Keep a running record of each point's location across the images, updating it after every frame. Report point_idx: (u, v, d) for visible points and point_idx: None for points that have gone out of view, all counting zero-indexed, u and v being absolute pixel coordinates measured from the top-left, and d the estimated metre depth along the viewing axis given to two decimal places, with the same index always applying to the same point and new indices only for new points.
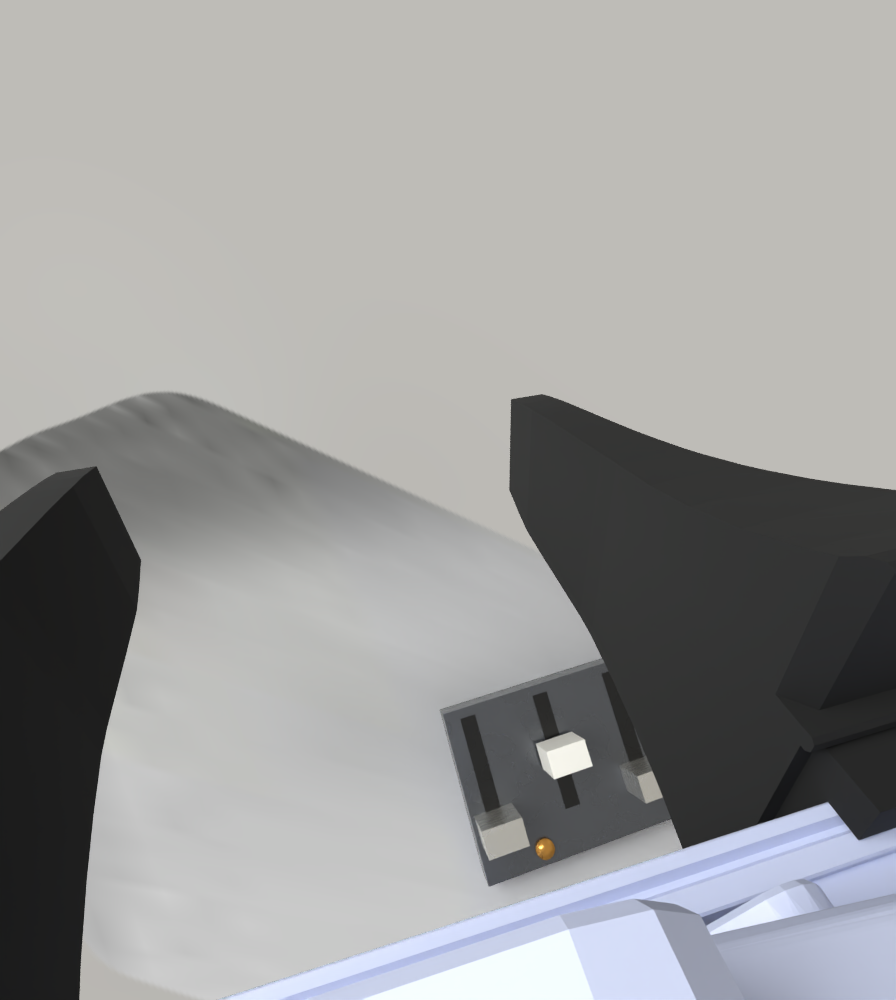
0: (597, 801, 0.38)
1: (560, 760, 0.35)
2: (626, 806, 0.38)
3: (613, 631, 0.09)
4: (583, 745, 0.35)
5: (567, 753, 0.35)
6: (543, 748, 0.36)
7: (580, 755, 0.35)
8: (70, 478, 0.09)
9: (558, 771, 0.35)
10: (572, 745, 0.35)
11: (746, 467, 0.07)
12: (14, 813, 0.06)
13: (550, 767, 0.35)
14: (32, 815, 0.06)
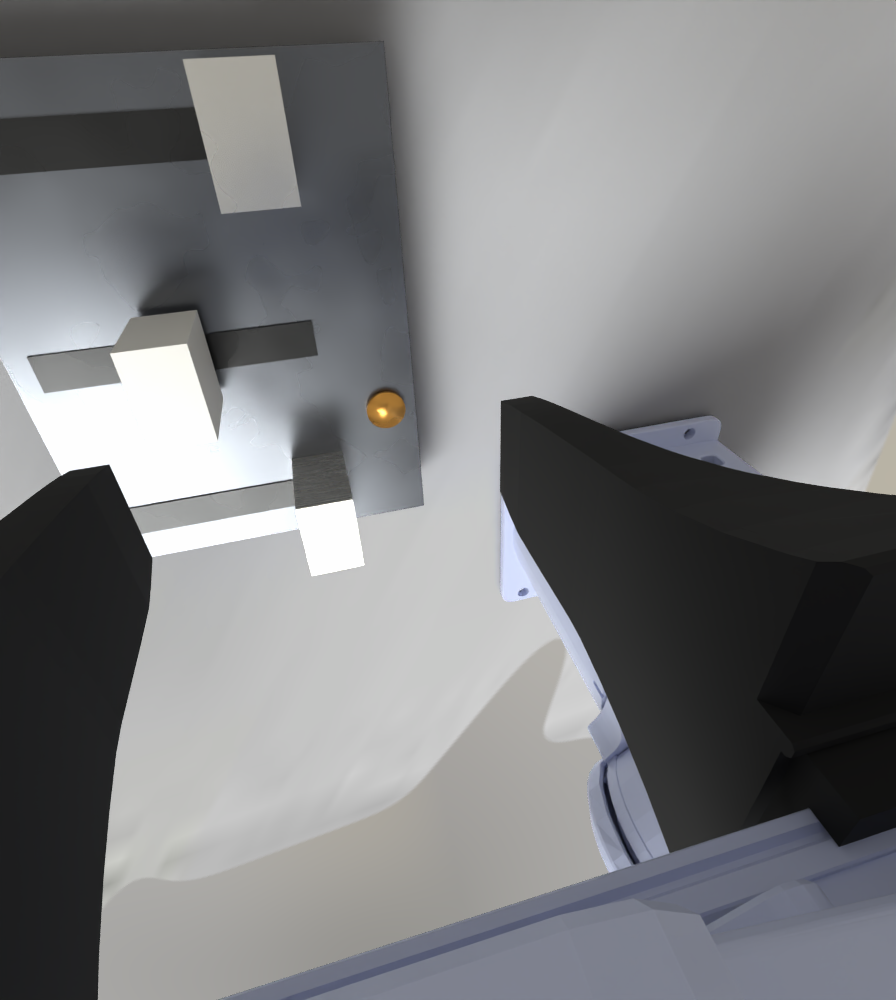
0: (312, 275, 0.15)
1: (171, 422, 0.14)
2: (334, 200, 0.15)
3: (601, 634, 0.09)
4: (128, 358, 0.13)
5: (152, 403, 0.13)
6: None
7: (156, 370, 0.13)
8: (84, 476, 0.09)
9: (198, 430, 0.14)
10: (128, 386, 0.13)
11: (732, 470, 0.07)
12: (34, 808, 0.06)
13: None
14: (51, 810, 0.06)
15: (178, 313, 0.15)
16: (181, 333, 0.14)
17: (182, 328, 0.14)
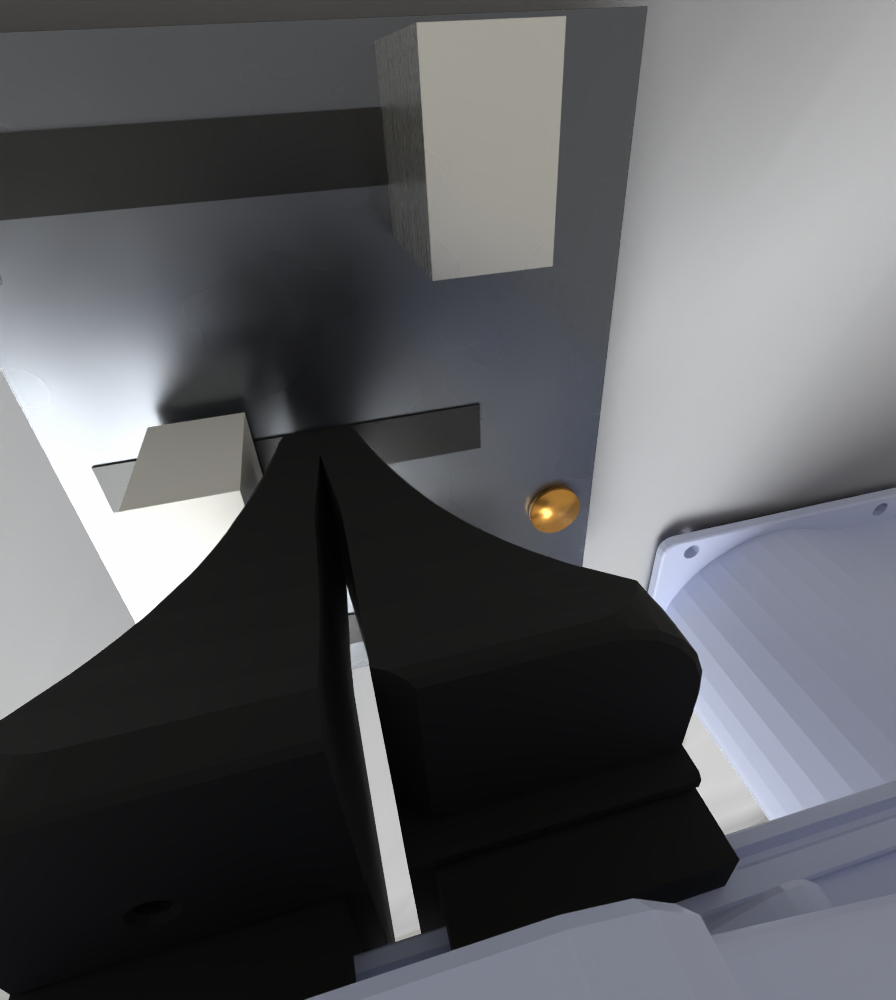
0: (489, 345, 0.11)
1: None
2: None
3: None
4: (148, 516, 0.08)
5: (183, 573, 0.09)
6: None
7: (191, 530, 0.08)
8: (308, 439, 0.09)
9: None
10: (148, 554, 0.08)
11: (463, 523, 0.06)
12: (352, 727, 0.07)
13: None
14: (355, 732, 0.07)
15: (218, 419, 0.10)
16: (228, 465, 0.09)
17: (228, 453, 0.09)
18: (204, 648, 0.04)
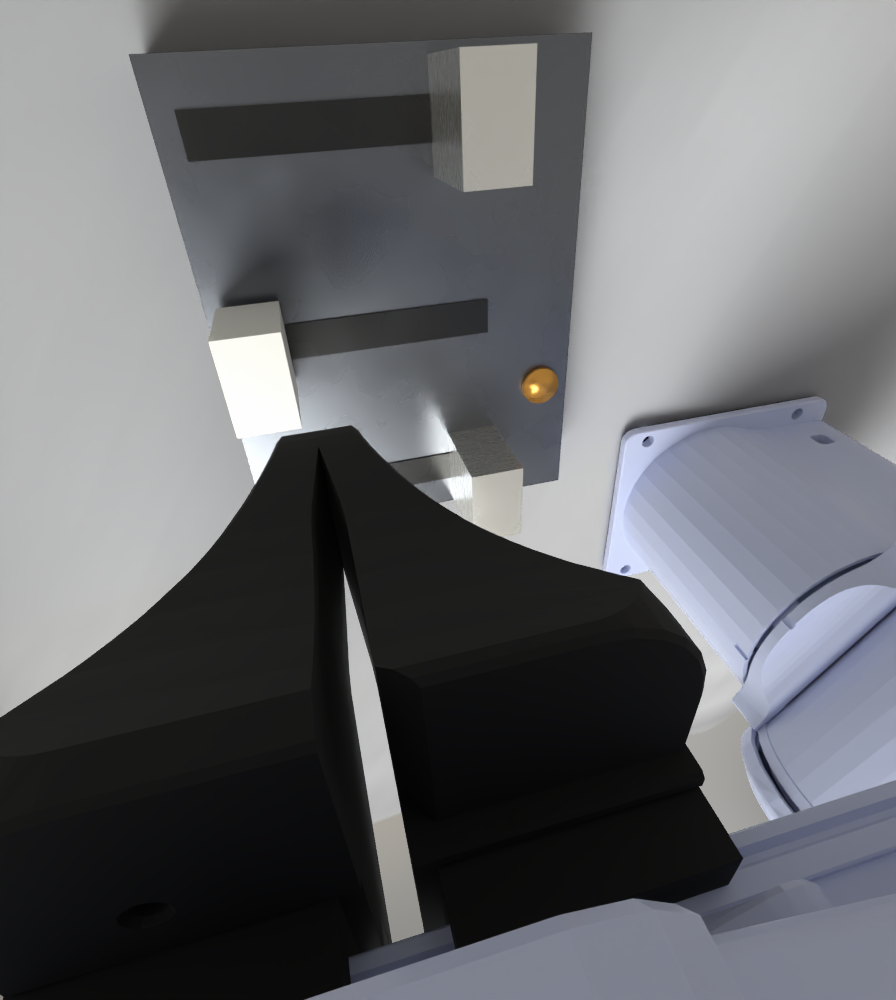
0: (494, 255, 0.16)
1: (259, 410, 0.14)
2: None
3: None
4: (225, 346, 0.13)
5: (243, 390, 0.14)
6: None
7: (250, 358, 0.14)
8: (306, 439, 0.09)
9: (285, 417, 0.15)
10: (223, 374, 0.14)
11: (466, 523, 0.06)
12: (348, 728, 0.07)
13: None
14: (351, 733, 0.07)
15: (261, 304, 0.15)
16: (271, 322, 0.14)
17: (271, 318, 0.14)
18: (200, 649, 0.04)
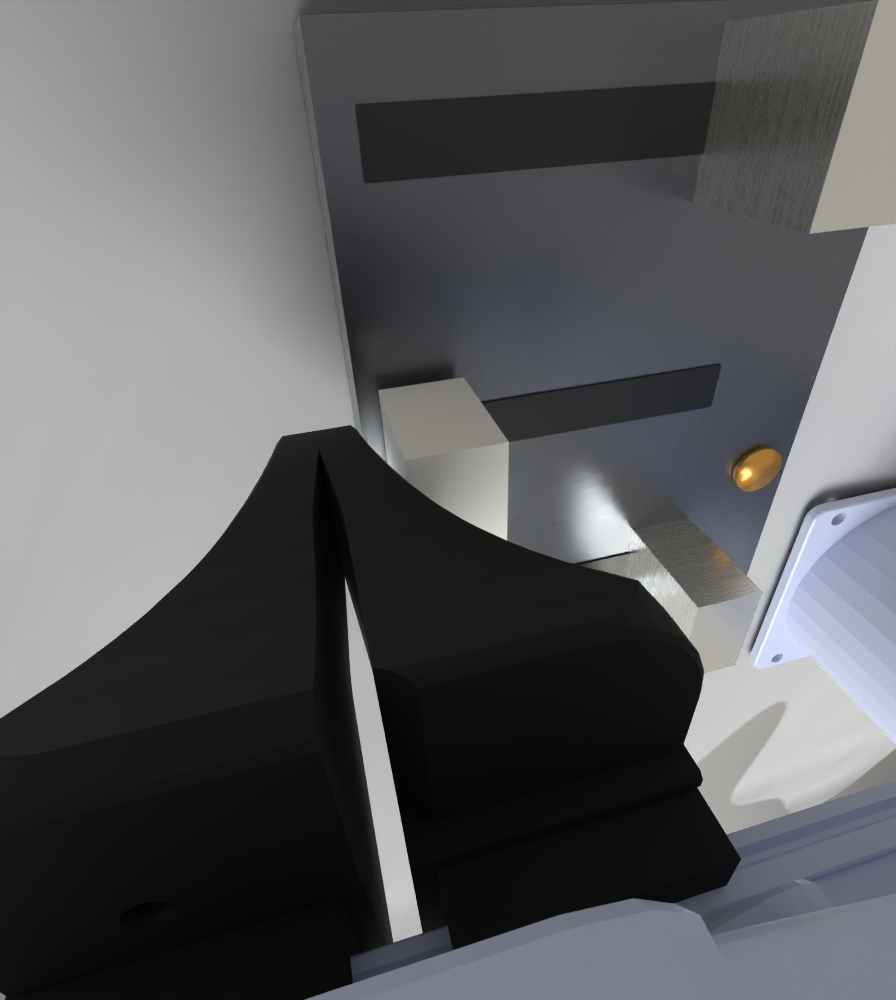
0: (743, 307, 0.12)
1: None
2: None
3: None
4: (427, 465, 0.09)
5: None
6: None
7: (459, 480, 0.09)
8: (306, 439, 0.09)
9: None
10: None
11: (464, 523, 0.06)
12: (349, 728, 0.07)
13: None
14: (352, 733, 0.07)
15: (442, 383, 0.11)
16: (482, 421, 0.09)
17: (474, 411, 0.10)
18: (200, 649, 0.04)
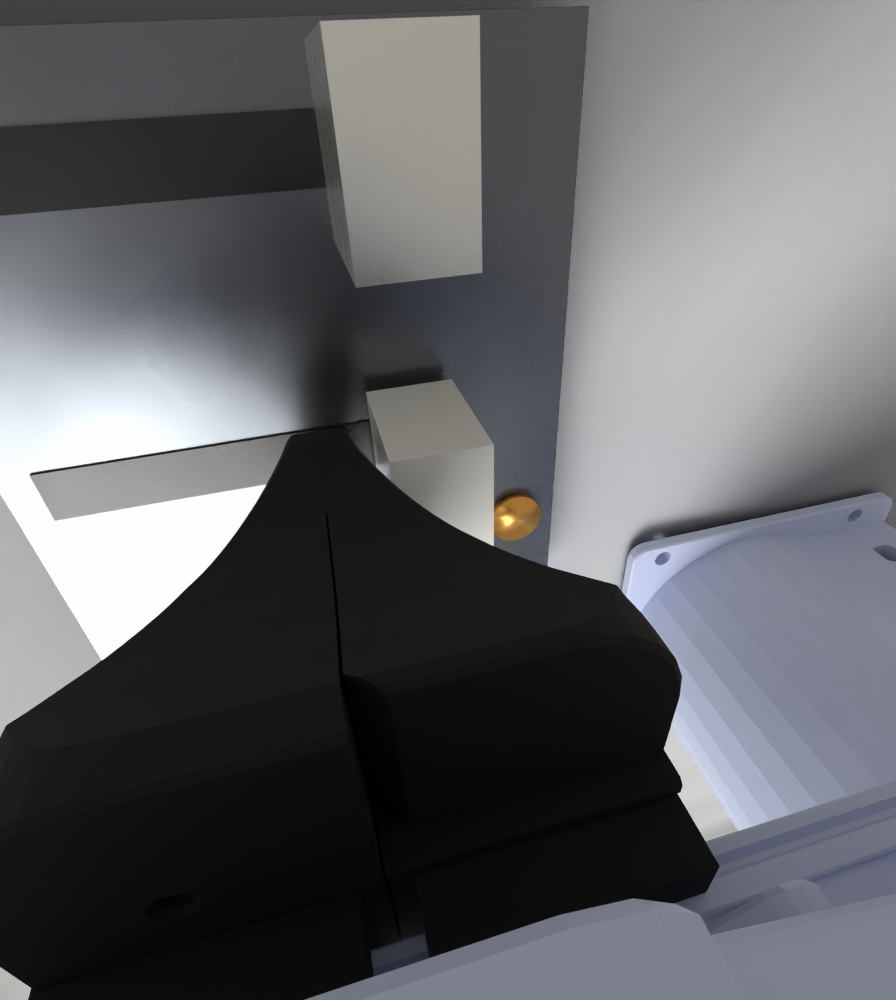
0: (439, 351, 0.11)
1: None
2: (484, 246, 0.10)
3: None
4: (412, 467, 0.09)
5: None
6: None
7: (444, 482, 0.09)
8: (316, 438, 0.09)
9: None
10: None
11: (448, 526, 0.06)
12: None
13: None
14: None
15: (429, 385, 0.11)
16: (467, 423, 0.09)
17: (460, 413, 0.10)
18: (223, 643, 0.04)
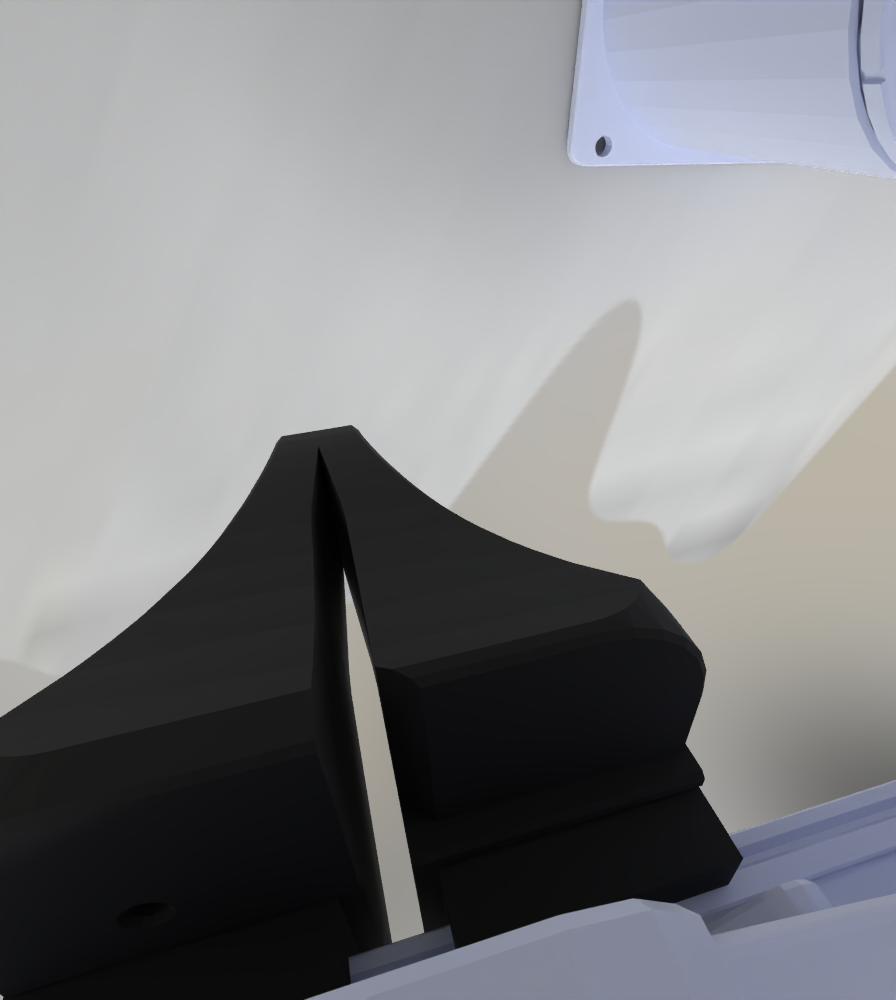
0: None
1: None
2: None
3: None
4: None
5: None
6: None
7: None
8: (305, 439, 0.09)
9: None
10: None
11: (466, 523, 0.06)
12: (348, 728, 0.07)
13: None
14: (351, 733, 0.07)
15: None
16: None
17: None
18: (198, 649, 0.04)
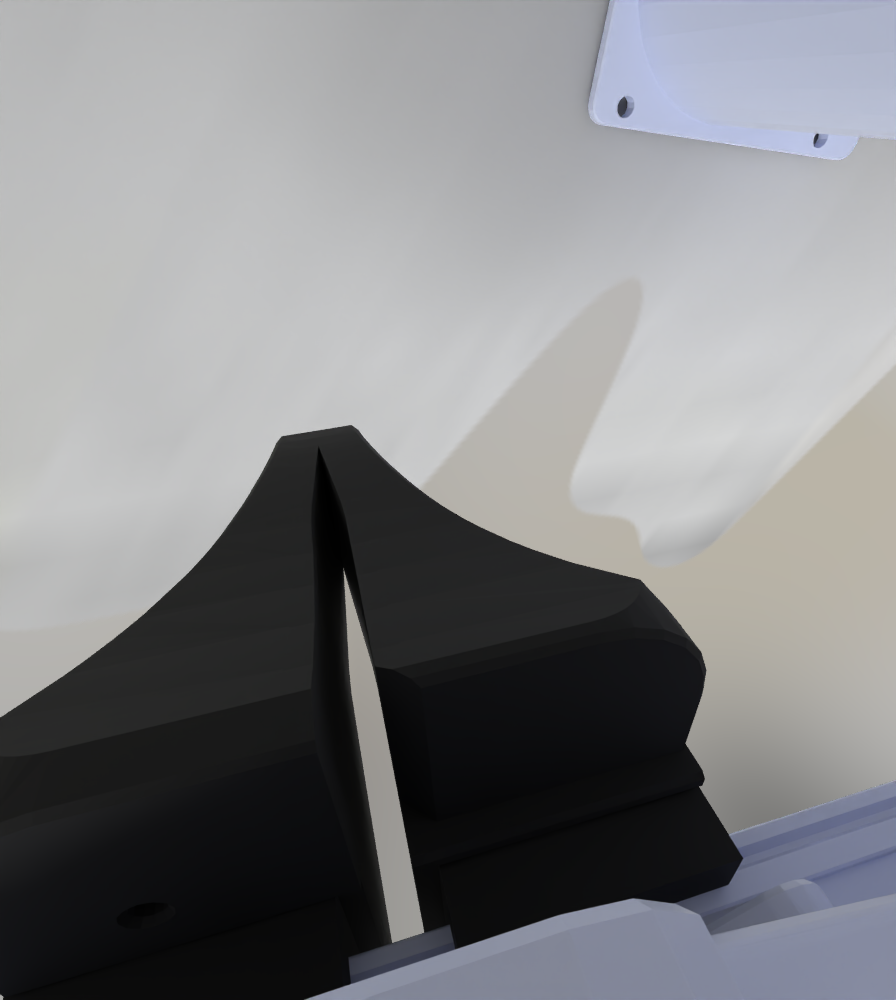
0: None
1: None
2: None
3: None
4: None
5: None
6: None
7: None
8: (306, 439, 0.09)
9: None
10: None
11: (466, 523, 0.06)
12: (348, 728, 0.07)
13: None
14: (351, 733, 0.07)
15: None
16: None
17: None
18: (198, 649, 0.04)
